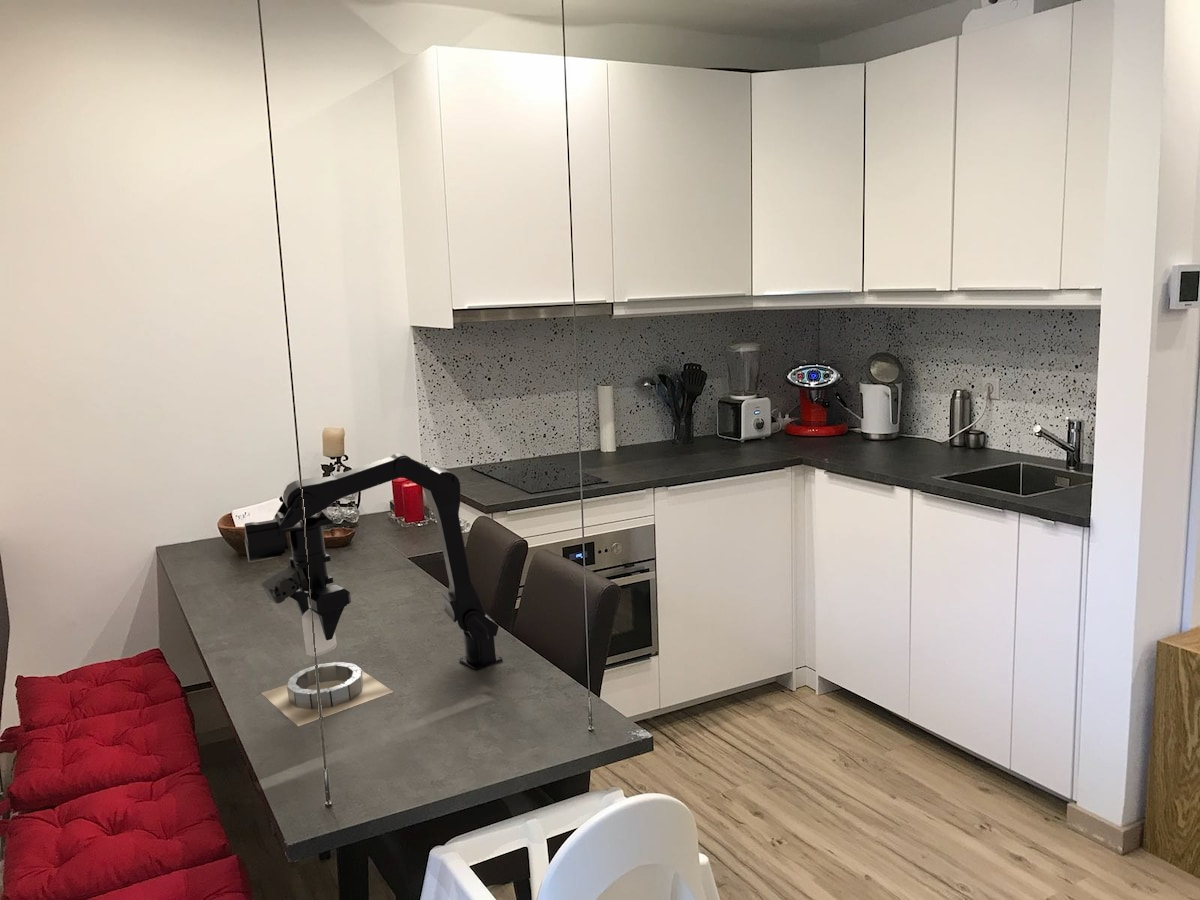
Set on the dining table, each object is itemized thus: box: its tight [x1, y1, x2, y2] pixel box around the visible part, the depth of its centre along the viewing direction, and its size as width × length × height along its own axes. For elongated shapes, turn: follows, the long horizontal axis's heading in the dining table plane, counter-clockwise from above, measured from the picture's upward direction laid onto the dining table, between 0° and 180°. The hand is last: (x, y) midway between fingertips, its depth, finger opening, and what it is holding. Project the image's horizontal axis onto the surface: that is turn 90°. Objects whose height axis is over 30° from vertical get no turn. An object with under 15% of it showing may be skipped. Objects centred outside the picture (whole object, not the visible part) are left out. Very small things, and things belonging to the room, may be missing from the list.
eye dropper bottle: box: [301, 596, 337, 658], centre depth 171 cm, size 4×6×12 cm
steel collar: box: [286, 661, 363, 710], centre depth 173 cm, size 13×13×3 cm
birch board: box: [261, 670, 394, 727], centre depth 174 cm, size 18×18×1 cm
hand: (319, 633), depth 172 cm, fingers closed on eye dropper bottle, 8 cm apart
